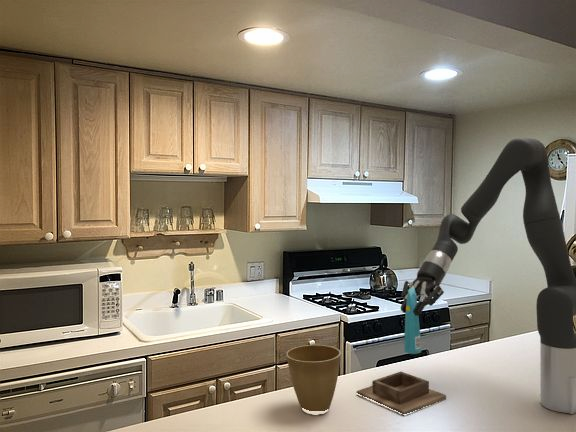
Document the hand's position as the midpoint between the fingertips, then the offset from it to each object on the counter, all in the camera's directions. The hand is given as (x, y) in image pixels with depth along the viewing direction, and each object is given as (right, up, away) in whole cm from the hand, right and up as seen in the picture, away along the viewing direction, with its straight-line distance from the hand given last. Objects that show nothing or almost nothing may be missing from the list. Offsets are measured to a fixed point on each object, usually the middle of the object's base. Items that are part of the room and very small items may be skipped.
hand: (409, 312), depth 143 cm
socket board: (-3, -24, -3) cm, 24 cm away
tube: (+1, -12, +1) cm, 12 cm away
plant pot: (-29, -25, -11) cm, 40 cm away
